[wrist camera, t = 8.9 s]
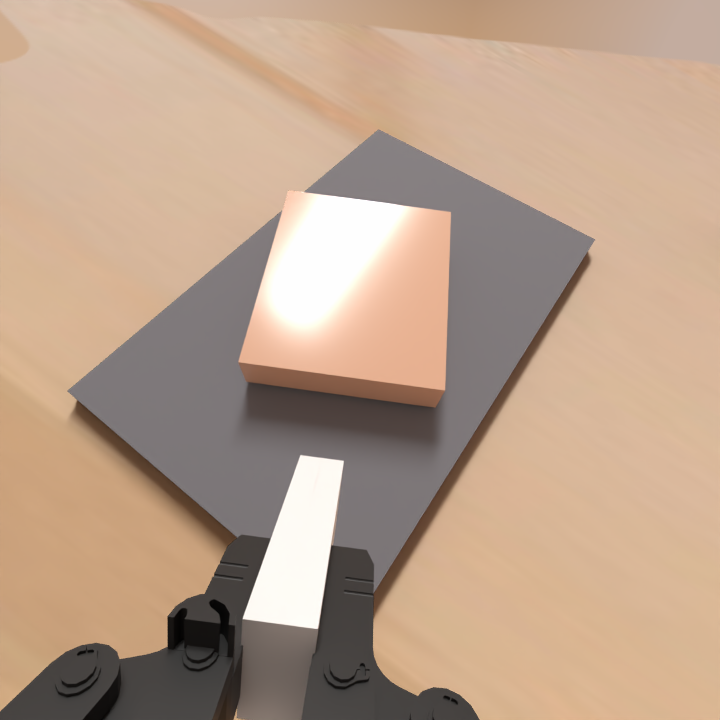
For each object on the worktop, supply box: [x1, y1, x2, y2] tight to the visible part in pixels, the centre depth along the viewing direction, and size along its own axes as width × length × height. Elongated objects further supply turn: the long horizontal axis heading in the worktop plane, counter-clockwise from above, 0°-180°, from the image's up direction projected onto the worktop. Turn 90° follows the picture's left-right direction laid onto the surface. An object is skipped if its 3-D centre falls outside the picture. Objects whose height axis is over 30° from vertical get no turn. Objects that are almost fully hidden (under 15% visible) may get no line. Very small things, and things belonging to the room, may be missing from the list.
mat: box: [68, 130, 595, 592], centre depth 26 cm, size 18×28×1 cm, turn 144°
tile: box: [238, 190, 451, 408], centre depth 25 cm, size 2×10×12 cm
